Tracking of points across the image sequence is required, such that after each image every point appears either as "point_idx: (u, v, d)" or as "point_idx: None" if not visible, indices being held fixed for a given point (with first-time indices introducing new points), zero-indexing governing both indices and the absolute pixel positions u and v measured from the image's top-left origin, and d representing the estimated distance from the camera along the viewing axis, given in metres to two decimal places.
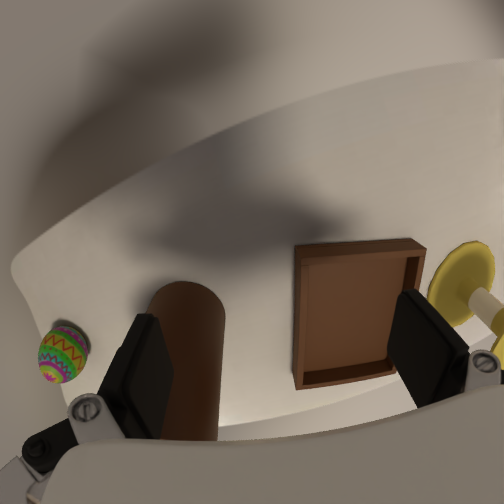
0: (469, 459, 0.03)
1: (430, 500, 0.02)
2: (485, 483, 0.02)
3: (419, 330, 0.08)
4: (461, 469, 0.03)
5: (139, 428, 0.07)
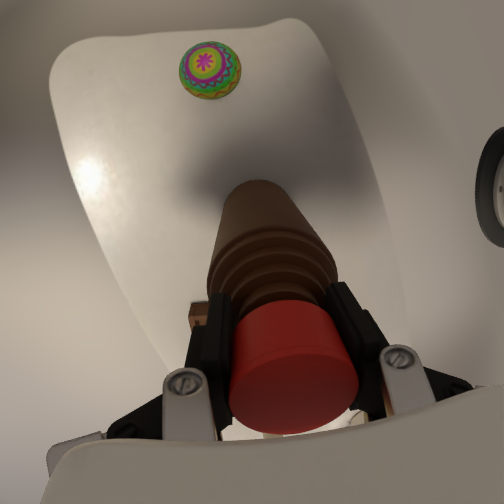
0: (469, 459, 0.03)
1: (430, 500, 0.02)
2: (485, 483, 0.02)
3: (338, 321, 0.10)
4: (461, 469, 0.03)
5: (226, 400, 0.08)
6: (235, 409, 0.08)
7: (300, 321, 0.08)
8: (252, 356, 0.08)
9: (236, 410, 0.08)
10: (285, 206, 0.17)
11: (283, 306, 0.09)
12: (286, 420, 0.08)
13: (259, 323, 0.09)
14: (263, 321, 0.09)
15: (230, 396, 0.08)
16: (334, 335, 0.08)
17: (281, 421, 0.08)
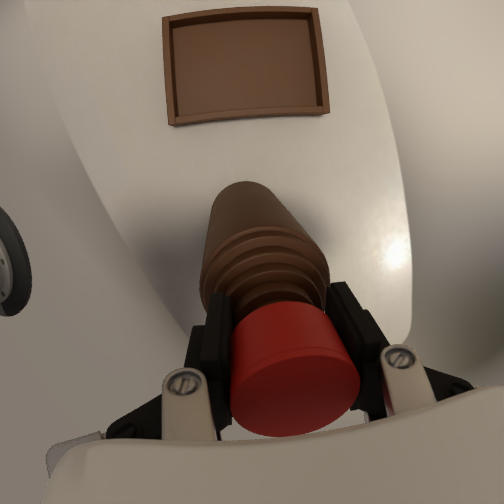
0: (469, 459, 0.03)
1: (430, 500, 0.02)
2: (485, 483, 0.02)
3: (339, 321, 0.10)
4: (461, 469, 0.03)
5: (225, 400, 0.08)
6: (237, 413, 0.08)
7: (300, 322, 0.08)
8: (253, 359, 0.07)
9: (238, 414, 0.08)
10: None
11: (282, 308, 0.09)
12: (288, 422, 0.08)
13: (258, 326, 0.09)
14: (262, 323, 0.09)
15: (232, 400, 0.07)
16: (334, 336, 0.08)
17: (283, 423, 0.08)
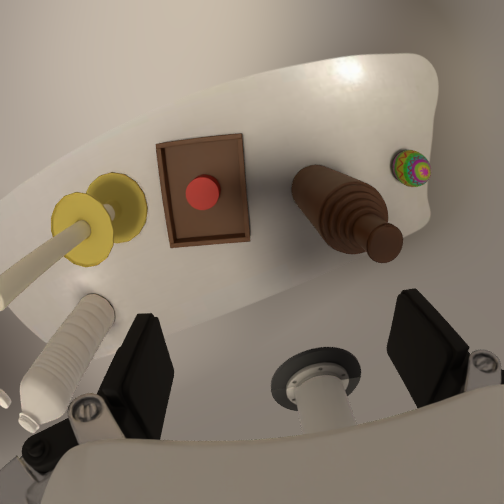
0: (469, 459, 0.03)
1: (430, 500, 0.02)
2: (485, 483, 0.02)
3: (419, 330, 0.08)
4: (461, 469, 0.03)
5: (138, 428, 0.07)
6: (187, 196, 0.33)
7: (204, 175, 0.34)
8: None
9: (187, 197, 0.34)
10: None
11: (202, 175, 0.35)
12: (200, 202, 0.34)
13: None
14: (196, 177, 0.34)
15: (186, 191, 0.33)
16: (213, 179, 0.34)
17: (199, 202, 0.34)
